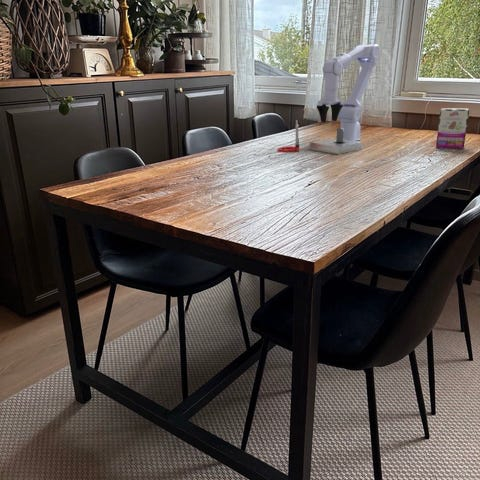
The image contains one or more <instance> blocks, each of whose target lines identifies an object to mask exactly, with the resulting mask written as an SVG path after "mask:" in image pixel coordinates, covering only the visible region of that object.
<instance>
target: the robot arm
mask: <svg viewBox="0 0 480 480" xmlns="http://www.w3.org/2000/svg"><path fill="white" fill-rule="evenodd" d="M380 50H381V49H380V47H379V44H377V43H375V44H358V45H356V46H355V48H354V49H352V50H351V51H350V52H348V53H346V52H341V53H340V54H339V55H338V56H336V57H333V59H332V60H327V61H326V62H324V64H323V67H322V71H323V76H324V87H323V88H324V90H323V99H322V100H317V105H316V109H317V111H318V113H319V116H320V117H319V118H320V122H321V123H326V122H327V117H328V116H327V115H328V112H329V109H330V110H331V121H333V122H337V121H338V120H339V122H340V128H344V138H343V139H346V140H353V141H360V140H362V138H361V123H360V122H359V120H360V118H361V116H362V111H363V110H364V109H363V106H362V104H361V101H362V98H363V95H364V93H365V92H366V91H365V90H366V89H367V87H368V84H369V82H370V79H371V77H372V75H373V72H374V70H375V67H376V66H377V63H378V60H379V58H380V56H381V51H380ZM354 60H356V61H357V63H358V66H359V67H361V69H360V72H359V74H358V76H357V78H356V81H355V83H354V86H353V88H352V90H351V93H350V95H349V98H348V99H347V100H345V101H343V99H342V98H341V99H339V98H338V88H339V77H340V76H339V75H341V73H342V71H343V70H344V69H346V68H347V67H349V66H350V65H351V62H352V61H354Z"/></svg>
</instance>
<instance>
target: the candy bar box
mask: <svg viewBox="0 0 480 480" xmlns="http://www.w3.org/2000/svg"><path fill="white" fill-rule="evenodd" d="M469 116H470V109H469V108H461V107H459V108H458V107H457V108H456V107H455V108H451V107H450V108H449V107H448V108H447V107H445V108H442V107H441V108H440V111H439V120H438V127H437V135H436V141H435V148H436V149H451V150H453V149H454V150H458V149H459V150H463V149H464V148H465V141H466V135H467V128H468V123H469V122H468V121H469Z"/></svg>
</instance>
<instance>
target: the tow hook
mask: <svg viewBox="0 0 480 480" xmlns="http://www.w3.org/2000/svg"><path fill="white" fill-rule="evenodd" d="M298 121H299V120H298V119H296V120H295V146H281V147H278V148H277V151H278V152H281V153H289V152H300V138H299V137H300V136H299V124H298Z"/></svg>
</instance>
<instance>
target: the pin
mask: <svg viewBox="0 0 480 480" xmlns="http://www.w3.org/2000/svg"><path fill="white" fill-rule="evenodd" d="M335 138H336V143H337V144H343V138H344V128H341V127H338V128H336V136H335Z"/></svg>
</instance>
